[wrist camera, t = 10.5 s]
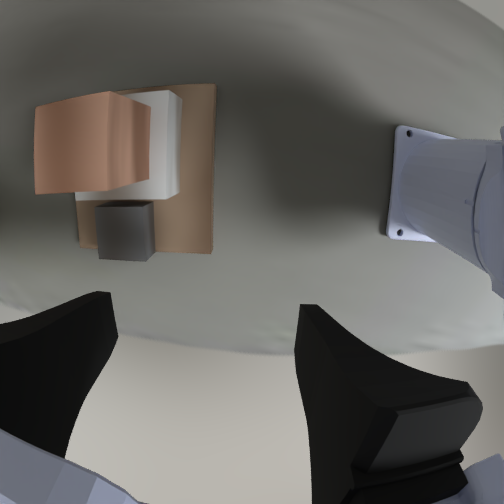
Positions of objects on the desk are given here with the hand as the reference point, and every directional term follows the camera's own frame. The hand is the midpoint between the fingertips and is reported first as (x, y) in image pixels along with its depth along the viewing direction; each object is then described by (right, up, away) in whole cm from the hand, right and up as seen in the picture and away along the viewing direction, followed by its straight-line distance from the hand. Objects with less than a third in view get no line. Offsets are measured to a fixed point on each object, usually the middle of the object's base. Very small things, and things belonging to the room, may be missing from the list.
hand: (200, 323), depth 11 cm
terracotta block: (-6, +9, +4) cm, 11 cm away
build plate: (-6, +8, +8) cm, 13 cm away
